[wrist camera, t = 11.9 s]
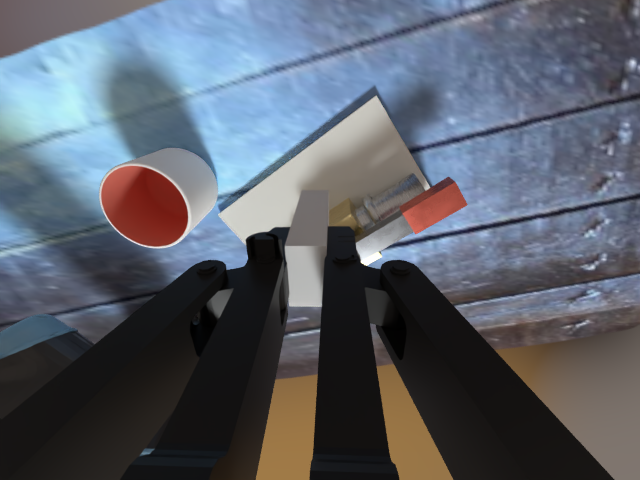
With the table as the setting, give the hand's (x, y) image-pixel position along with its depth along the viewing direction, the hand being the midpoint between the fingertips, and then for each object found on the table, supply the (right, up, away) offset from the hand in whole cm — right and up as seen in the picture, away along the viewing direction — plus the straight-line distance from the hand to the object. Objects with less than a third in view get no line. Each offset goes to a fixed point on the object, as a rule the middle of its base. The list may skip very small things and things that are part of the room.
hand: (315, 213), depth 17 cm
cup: (-19, +6, +25) cm, 32 cm away
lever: (+8, 0, +18) cm, 20 cm away
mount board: (+1, +3, +26) cm, 26 cm away
